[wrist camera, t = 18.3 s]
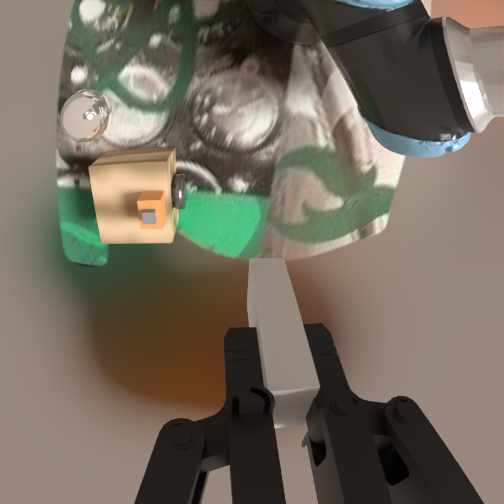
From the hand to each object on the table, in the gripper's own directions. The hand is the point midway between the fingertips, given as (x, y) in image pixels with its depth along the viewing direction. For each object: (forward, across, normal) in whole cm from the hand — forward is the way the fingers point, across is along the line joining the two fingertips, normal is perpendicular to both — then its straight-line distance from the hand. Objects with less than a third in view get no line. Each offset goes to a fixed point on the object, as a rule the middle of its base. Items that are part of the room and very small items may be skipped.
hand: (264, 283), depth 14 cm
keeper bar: (+27, -11, -8) cm, 30 cm away
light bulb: (+35, -19, +5) cm, 40 cm away
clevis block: (+34, -14, -8) cm, 38 cm away
